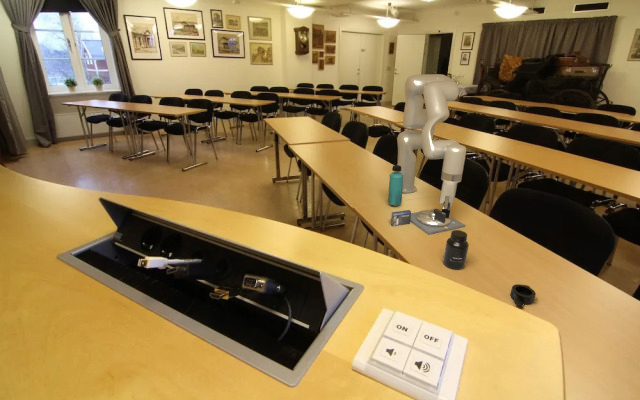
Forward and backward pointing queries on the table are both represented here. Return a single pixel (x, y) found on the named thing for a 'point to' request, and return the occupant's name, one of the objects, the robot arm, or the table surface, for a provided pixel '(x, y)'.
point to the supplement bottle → (456, 250)
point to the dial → (433, 218)
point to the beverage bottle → (395, 186)
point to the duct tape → (522, 295)
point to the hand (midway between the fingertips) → (444, 217)
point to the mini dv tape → (400, 218)
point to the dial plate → (432, 230)
